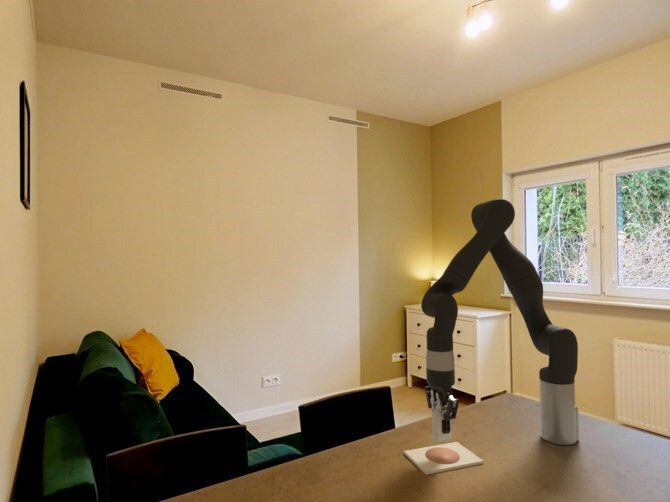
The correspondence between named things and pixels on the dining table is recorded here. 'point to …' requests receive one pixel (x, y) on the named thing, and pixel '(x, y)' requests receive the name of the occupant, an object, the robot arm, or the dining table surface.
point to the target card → (442, 457)
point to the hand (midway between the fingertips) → (441, 429)
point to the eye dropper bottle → (439, 426)
